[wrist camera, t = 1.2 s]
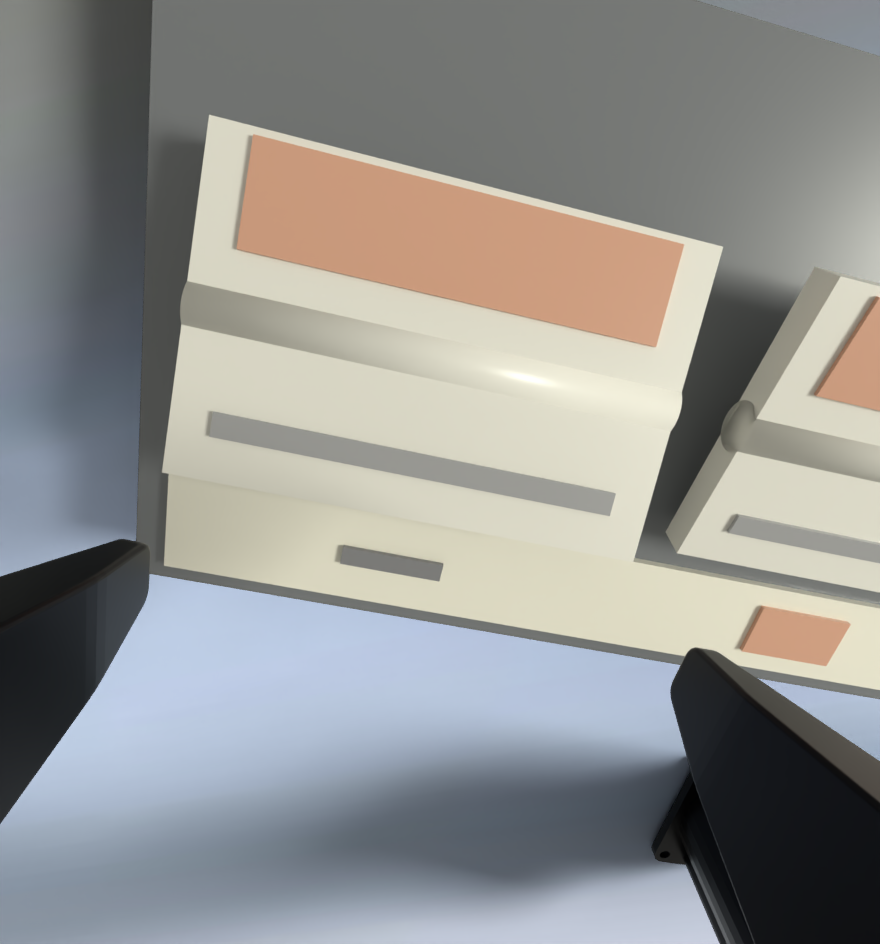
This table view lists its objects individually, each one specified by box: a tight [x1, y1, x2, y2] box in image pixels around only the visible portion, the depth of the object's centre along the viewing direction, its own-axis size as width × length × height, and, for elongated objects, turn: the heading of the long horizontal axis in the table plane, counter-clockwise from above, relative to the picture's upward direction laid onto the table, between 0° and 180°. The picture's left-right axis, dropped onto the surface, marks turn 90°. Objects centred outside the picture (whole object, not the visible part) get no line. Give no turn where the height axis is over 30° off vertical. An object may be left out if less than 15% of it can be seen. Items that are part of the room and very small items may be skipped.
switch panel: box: [136, 0, 880, 699], centre depth 17 cm, size 18×30×4 cm, turn 77°
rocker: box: [162, 115, 723, 562], centre depth 14 cm, size 8×12×1 cm, turn 77°
